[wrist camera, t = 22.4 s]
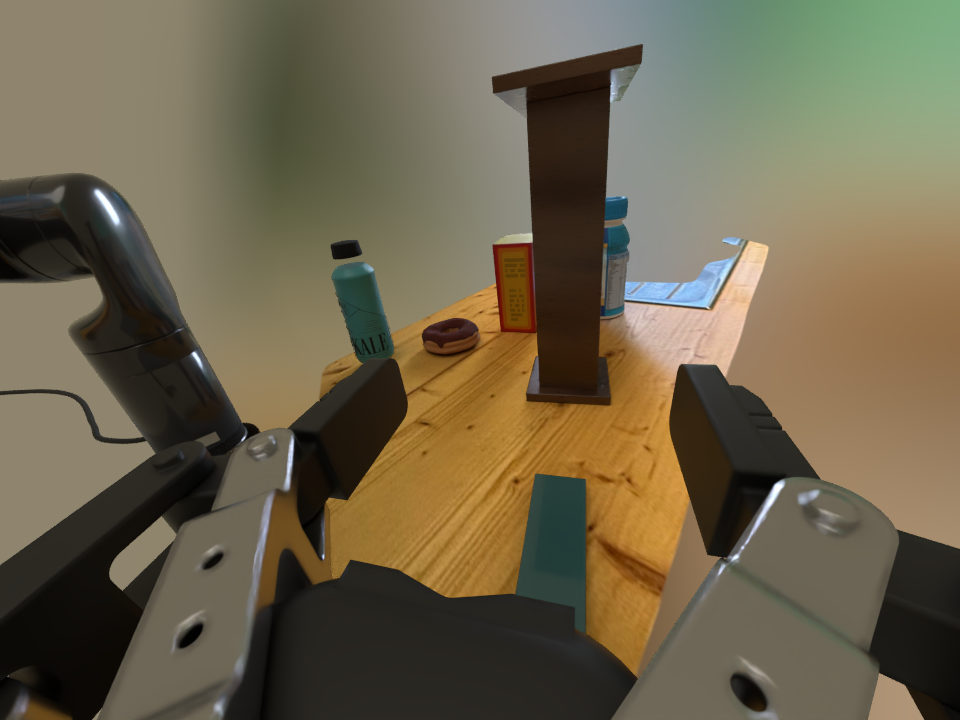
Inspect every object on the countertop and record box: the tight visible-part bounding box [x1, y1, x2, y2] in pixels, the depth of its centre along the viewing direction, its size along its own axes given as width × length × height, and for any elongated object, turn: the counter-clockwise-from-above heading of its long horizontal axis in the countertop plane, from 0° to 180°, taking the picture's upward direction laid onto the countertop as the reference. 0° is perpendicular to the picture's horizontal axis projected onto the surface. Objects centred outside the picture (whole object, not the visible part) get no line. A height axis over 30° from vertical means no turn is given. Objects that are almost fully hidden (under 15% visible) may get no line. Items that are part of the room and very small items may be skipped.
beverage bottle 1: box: [331, 240, 395, 363], centre depth 54 cm, size 6×7×20 cm
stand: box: [492, 44, 643, 405], centre depth 38 cm, size 16×10×32 cm, turn 165°
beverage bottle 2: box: [600, 197, 630, 319], centre depth 62 cm, size 8×8×20 cm
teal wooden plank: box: [515, 474, 586, 634], centre depth 21 cm, size 24×4×2 cm, turn 165°
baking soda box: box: [493, 233, 537, 333], centre depth 63 cm, size 10×6×16 cm
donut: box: [422, 318, 480, 354], centre depth 61 cm, size 10×10×4 cm
